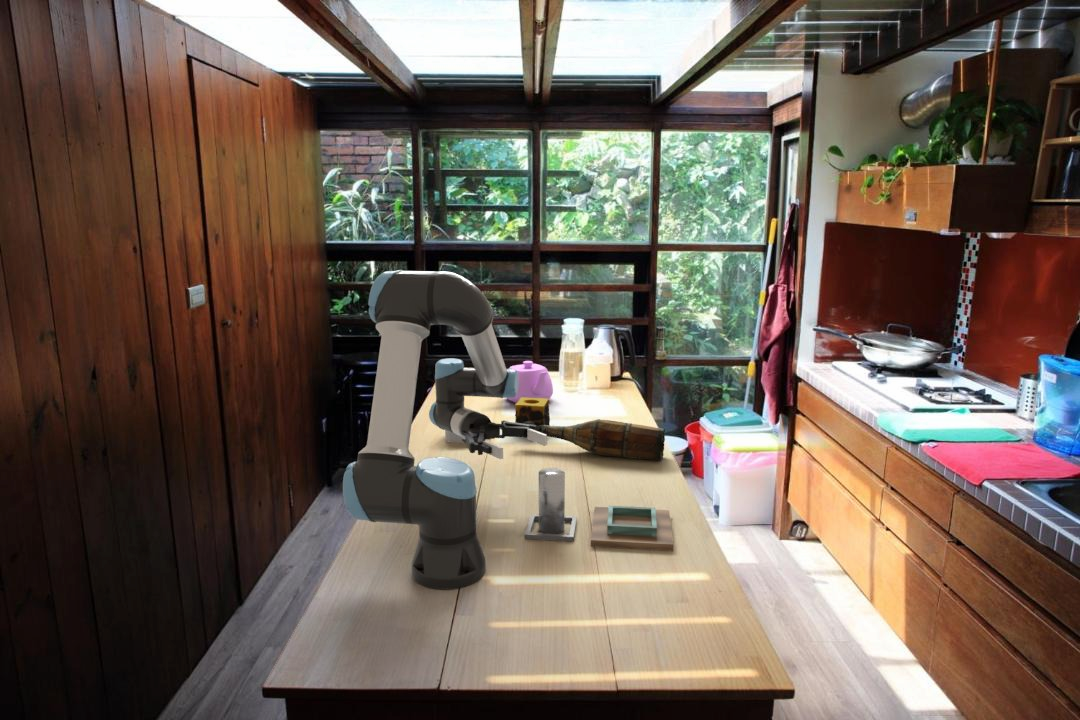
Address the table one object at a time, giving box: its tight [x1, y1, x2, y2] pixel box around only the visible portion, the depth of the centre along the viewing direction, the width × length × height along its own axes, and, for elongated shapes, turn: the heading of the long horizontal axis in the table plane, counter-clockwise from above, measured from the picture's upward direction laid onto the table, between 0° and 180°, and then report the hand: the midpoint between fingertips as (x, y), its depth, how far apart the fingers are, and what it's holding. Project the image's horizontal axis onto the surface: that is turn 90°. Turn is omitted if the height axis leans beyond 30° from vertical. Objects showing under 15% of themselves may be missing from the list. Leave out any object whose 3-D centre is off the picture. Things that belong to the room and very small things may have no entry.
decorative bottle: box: [522, 418, 666, 461], centre depth 221 cm, size 11×11×45 cm
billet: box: [538, 467, 566, 534], centre depth 170 cm, size 6×6×14 cm
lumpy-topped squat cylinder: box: [444, 407, 483, 444], centre depth 235 cm, size 10×13×9 cm
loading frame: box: [524, 513, 578, 542], centre depth 171 cm, size 11×11×1 cm
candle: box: [514, 397, 551, 426], centre depth 243 cm, size 10×10×10 cm
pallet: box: [590, 505, 674, 552], centre depth 170 cm, size 18×18×4 cm
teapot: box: [507, 360, 554, 404], centre depth 275 cm, size 23×21×15 cm
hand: (524, 446), depth 175 cm, fingers open, 13 cm apart
